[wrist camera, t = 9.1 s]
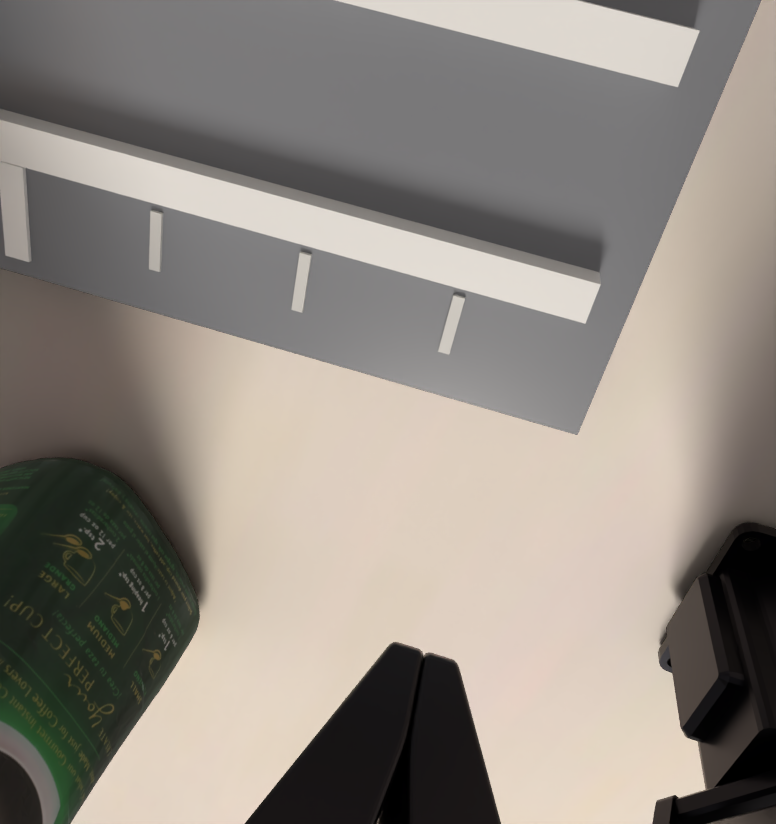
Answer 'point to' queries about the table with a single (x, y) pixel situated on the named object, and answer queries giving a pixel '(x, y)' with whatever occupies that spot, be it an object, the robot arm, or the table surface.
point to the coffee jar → (79, 630)
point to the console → (365, 173)
